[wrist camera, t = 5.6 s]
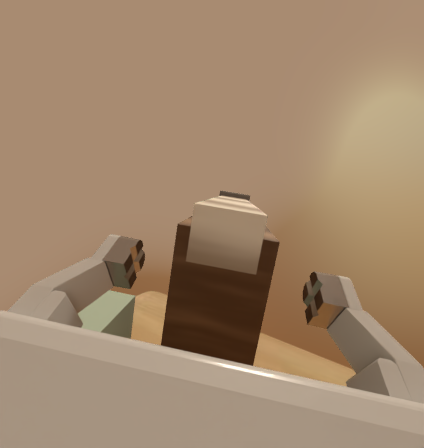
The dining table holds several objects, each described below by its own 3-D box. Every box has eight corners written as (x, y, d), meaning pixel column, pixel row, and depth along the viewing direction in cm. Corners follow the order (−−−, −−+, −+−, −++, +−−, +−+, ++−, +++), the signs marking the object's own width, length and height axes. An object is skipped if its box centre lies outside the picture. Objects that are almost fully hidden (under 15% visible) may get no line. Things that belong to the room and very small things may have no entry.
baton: (263, 276, 9) (278, 204, 9) (179, 259, 10) (189, 190, 9) (244, 216, 31) (248, 195, 30) (218, 212, 31) (222, 191, 31)
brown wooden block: (222, 505, 21) (279, 242, 17) (141, 482, 22) (177, 224, 18) (228, 381, 35) (260, 219, 31) (178, 369, 36) (203, 209, 31)
